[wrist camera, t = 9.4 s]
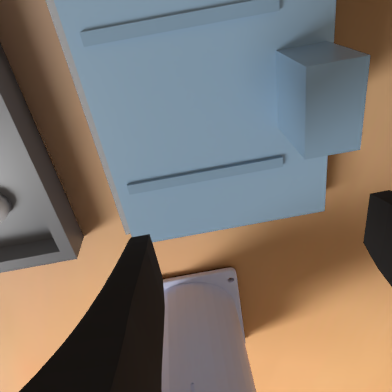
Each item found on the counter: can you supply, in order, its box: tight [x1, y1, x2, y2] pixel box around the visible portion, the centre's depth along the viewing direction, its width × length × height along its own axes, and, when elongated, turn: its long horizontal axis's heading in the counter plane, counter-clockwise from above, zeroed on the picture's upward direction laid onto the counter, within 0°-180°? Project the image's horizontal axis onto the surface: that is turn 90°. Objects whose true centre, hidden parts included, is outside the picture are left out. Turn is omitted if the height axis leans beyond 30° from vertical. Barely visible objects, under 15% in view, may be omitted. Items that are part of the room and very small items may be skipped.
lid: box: [54, 0, 370, 242], centre depth 16 cm, size 16×12×5 cm
